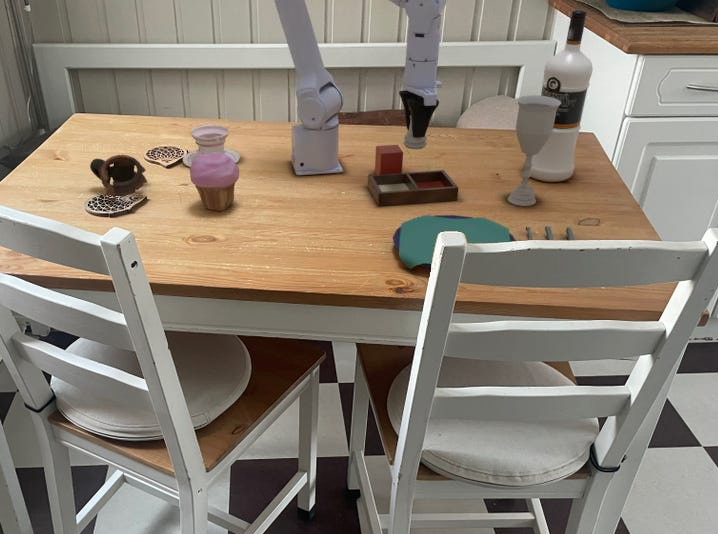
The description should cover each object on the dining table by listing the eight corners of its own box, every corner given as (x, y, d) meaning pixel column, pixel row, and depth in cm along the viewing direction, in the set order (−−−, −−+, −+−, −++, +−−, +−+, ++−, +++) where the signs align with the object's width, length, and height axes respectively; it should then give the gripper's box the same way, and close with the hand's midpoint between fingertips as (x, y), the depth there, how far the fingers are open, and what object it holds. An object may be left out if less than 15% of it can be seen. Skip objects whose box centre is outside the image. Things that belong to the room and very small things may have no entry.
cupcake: (228, 219, 129) (224, 165, 123) (185, 213, 132) (178, 159, 126) (248, 200, 136) (245, 148, 130) (207, 194, 138) (202, 142, 133)
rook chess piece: (428, 149, 137) (432, 106, 132) (404, 150, 137) (407, 107, 132) (425, 141, 141) (428, 99, 136) (402, 142, 141) (404, 99, 136)
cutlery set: (394, 222, 127) (395, 210, 126) (571, 231, 124) (573, 218, 122) (389, 277, 112) (390, 263, 110) (591, 289, 108) (595, 275, 106)
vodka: (582, 177, 143) (619, 11, 125) (547, 187, 139) (580, 17, 122) (548, 162, 150) (578, 3, 132) (514, 171, 146) (540, 8, 128)
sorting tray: (378, 206, 133) (379, 193, 132) (367, 187, 140) (368, 175, 139) (457, 200, 135) (458, 187, 133) (442, 182, 142) (443, 169, 141)
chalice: (543, 195, 136) (562, 97, 126) (540, 209, 131) (560, 108, 120) (503, 190, 138) (518, 94, 128) (499, 204, 133) (514, 105, 122)
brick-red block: (379, 180, 143) (381, 153, 140) (374, 172, 146) (375, 145, 143) (401, 179, 143) (403, 152, 140) (395, 171, 147) (397, 144, 144)
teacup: (250, 162, 152) (248, 133, 148) (199, 175, 146) (196, 145, 143) (222, 146, 160) (220, 118, 156) (173, 158, 154) (169, 129, 151)
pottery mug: (159, 186, 143) (154, 158, 136) (136, 222, 139) (130, 196, 132) (104, 165, 144) (96, 137, 137) (80, 201, 141) (71, 173, 133)
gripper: (456, 66, 124) (448, 145, 132) (431, 47, 136) (425, 120, 144) (416, 68, 123) (410, 147, 131) (394, 49, 135) (390, 122, 143)
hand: (415, 133), depth 137 cm, fingers closed on rook chess piece, 3 cm apart
